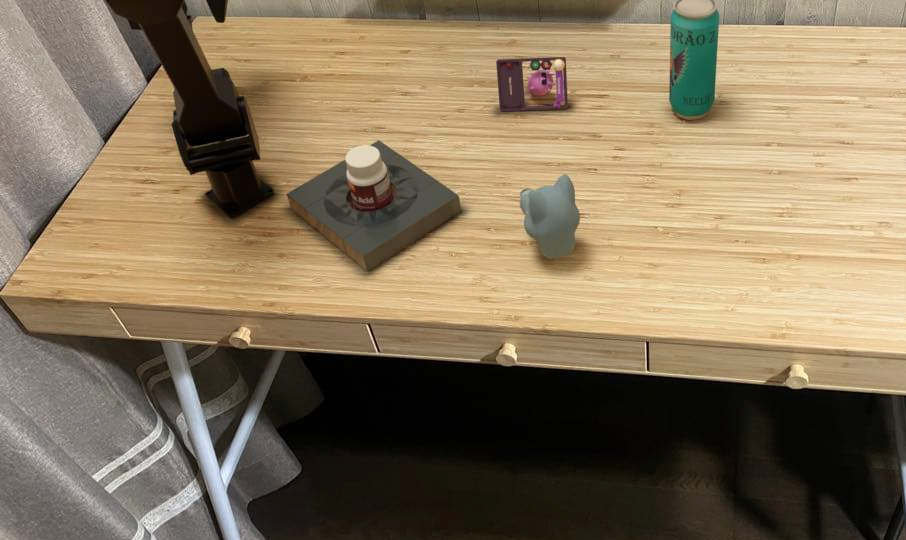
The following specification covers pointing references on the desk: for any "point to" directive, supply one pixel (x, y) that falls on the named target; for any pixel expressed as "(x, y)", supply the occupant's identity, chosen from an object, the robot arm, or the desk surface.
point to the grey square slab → (379, 230)
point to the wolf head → (551, 217)
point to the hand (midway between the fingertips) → (205, 41)
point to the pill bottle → (368, 179)
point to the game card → (530, 82)
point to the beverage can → (693, 57)
